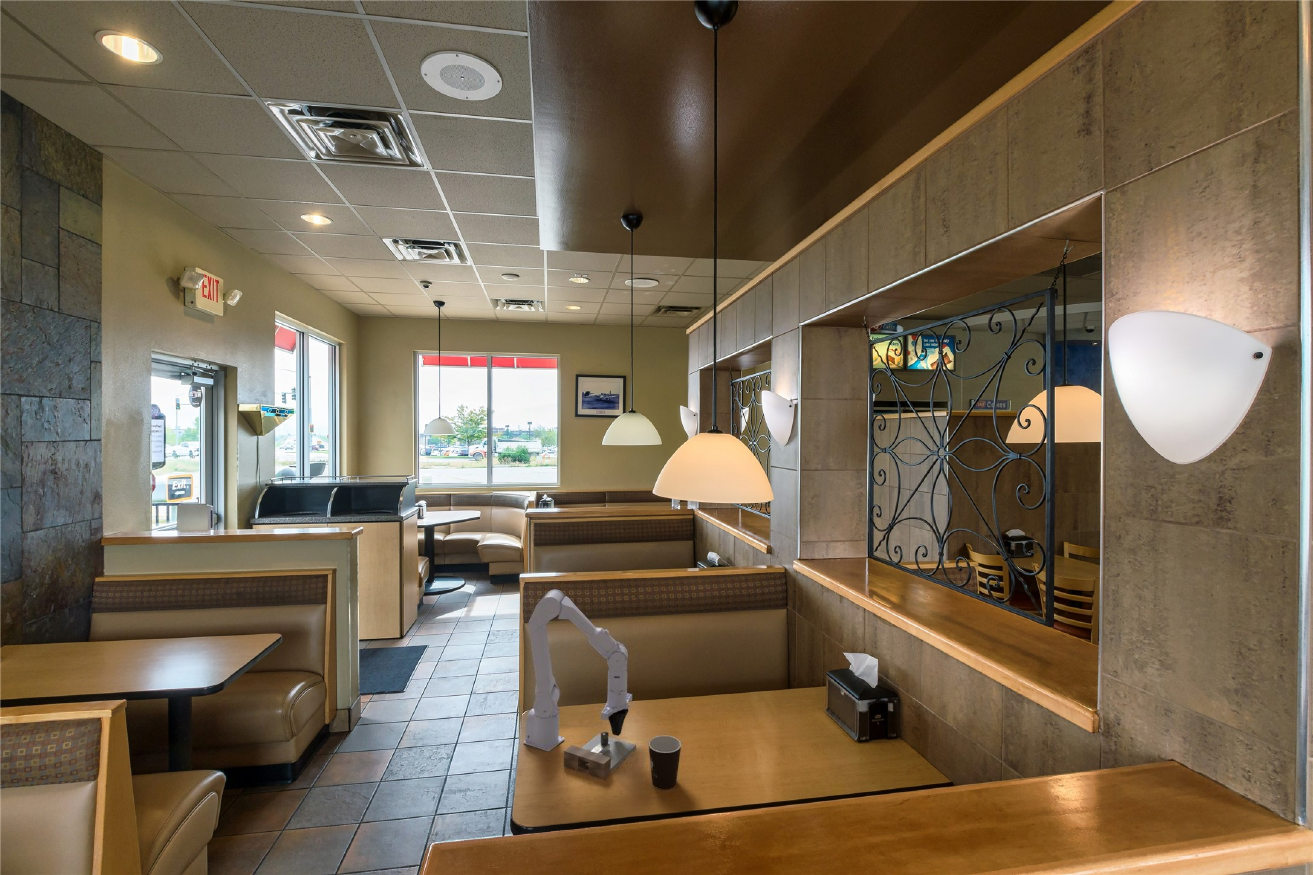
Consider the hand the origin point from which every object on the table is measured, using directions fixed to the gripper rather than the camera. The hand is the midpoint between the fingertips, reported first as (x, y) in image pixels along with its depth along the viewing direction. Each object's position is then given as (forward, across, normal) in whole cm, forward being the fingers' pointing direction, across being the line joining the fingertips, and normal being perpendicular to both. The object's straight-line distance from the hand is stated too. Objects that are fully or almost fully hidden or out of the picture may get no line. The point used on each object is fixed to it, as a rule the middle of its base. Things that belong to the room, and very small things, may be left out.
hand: (616, 734), depth 165 cm
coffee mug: (+3, -8, -20) cm, 22 cm away
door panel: (+3, -7, 0) cm, 7 cm away
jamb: (+3, -15, 0) cm, 16 cm away
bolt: (+1, -9, 0) cm, 9 cm away
